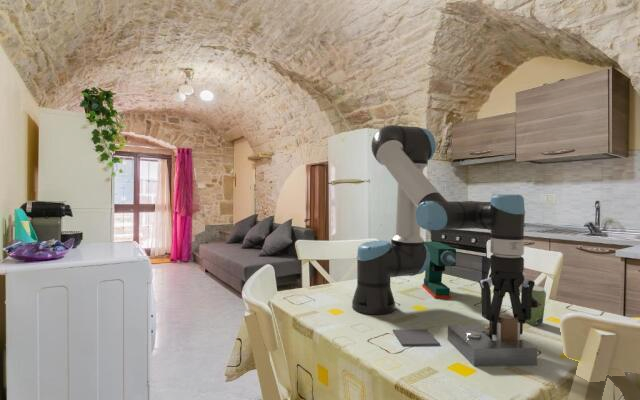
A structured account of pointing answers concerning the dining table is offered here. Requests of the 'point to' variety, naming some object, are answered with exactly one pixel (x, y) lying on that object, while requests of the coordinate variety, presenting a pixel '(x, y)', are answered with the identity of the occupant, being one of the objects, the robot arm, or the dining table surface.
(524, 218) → the robot arm
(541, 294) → the beverage can
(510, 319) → the wooden block
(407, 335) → the mat
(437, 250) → the power tool
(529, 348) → the peg insertion board
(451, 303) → the dining table surface
